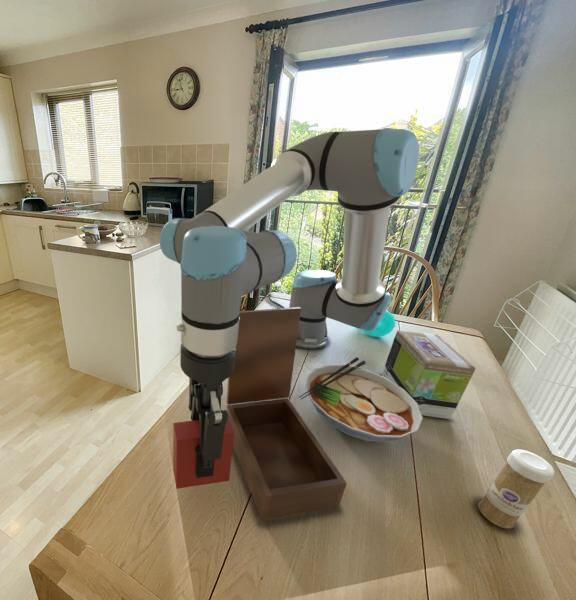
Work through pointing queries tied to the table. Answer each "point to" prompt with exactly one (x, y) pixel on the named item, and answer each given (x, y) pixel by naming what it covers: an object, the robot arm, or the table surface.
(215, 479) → the book
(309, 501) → the chest
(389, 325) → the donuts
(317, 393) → the ramen bowl
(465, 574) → the table surface
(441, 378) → the tea box
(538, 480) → the sprinkles bottle
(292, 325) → the lid
